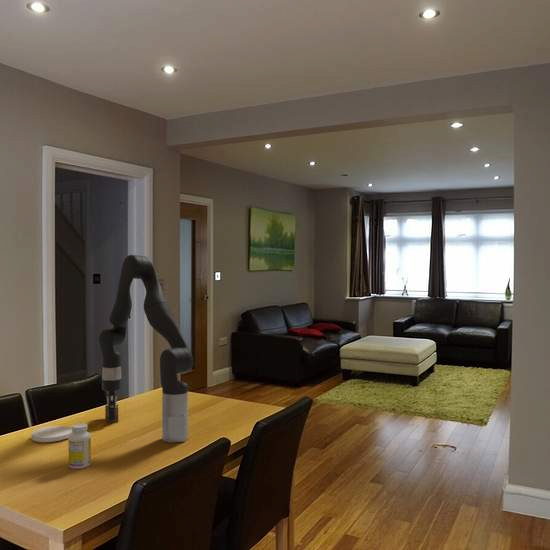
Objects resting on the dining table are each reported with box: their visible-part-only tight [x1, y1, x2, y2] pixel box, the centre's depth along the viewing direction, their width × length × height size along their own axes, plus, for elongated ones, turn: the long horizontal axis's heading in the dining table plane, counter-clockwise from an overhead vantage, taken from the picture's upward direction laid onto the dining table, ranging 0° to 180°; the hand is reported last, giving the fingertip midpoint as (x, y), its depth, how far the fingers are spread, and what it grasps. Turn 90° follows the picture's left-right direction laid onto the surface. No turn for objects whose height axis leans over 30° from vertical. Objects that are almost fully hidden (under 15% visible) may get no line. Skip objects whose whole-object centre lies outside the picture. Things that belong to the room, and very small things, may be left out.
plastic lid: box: [30, 425, 73, 443], centre depth 197 cm, size 14×14×2 cm
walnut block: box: [104, 403, 119, 424], centre depth 218 cm, size 5×5×6 cm
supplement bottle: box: [67, 422, 92, 470], centre depth 169 cm, size 7×7×13 cm
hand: (111, 417), depth 218 cm, fingers open, 8 cm apart
